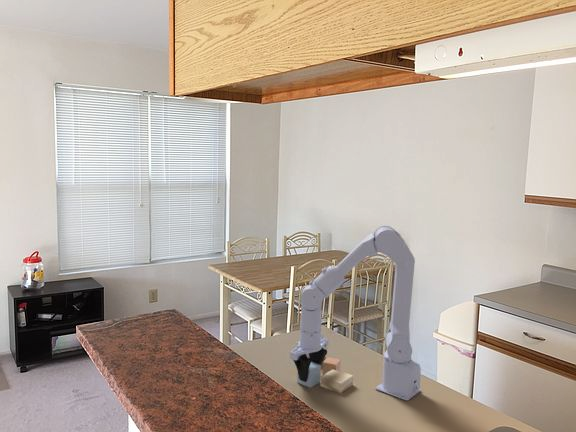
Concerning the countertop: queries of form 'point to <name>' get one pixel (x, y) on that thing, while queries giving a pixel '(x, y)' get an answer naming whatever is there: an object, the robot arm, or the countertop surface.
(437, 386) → the countertop surface
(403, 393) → the robot arm
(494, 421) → the countertop surface
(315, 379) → the blue block
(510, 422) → the countertop surface
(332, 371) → the beech base
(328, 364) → the terracotta block
